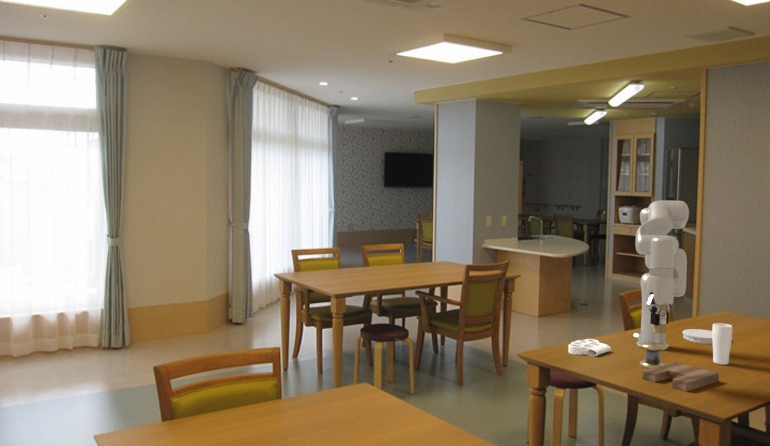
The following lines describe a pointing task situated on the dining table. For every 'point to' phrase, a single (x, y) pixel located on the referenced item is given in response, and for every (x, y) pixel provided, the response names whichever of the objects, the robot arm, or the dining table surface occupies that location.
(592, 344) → the knuckle duster
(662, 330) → the sprinkles bottle
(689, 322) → the dining table surface
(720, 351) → the drinking glass
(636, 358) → the dining table surface
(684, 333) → the lid
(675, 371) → the notched board
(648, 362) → the bobbin
